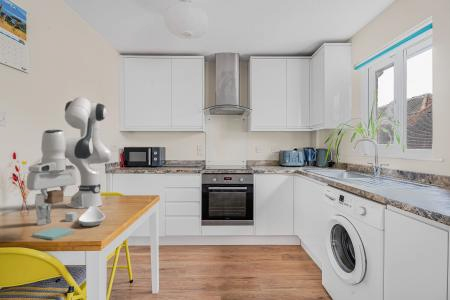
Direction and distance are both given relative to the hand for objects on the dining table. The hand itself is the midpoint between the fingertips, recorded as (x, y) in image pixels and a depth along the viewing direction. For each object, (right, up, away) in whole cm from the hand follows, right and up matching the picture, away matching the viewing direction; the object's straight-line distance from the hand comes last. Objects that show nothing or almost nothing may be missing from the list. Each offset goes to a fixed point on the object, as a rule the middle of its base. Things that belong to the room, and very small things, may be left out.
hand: (53, 197), depth 111 cm
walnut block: (0, -2, 0) cm, 2 cm away
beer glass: (-16, -17, +17) cm, 28 cm away
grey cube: (-6, -16, +22) cm, 28 cm away
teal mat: (0, -16, 0) cm, 16 cm away
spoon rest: (+7, -17, +20) cm, 27 cm away
